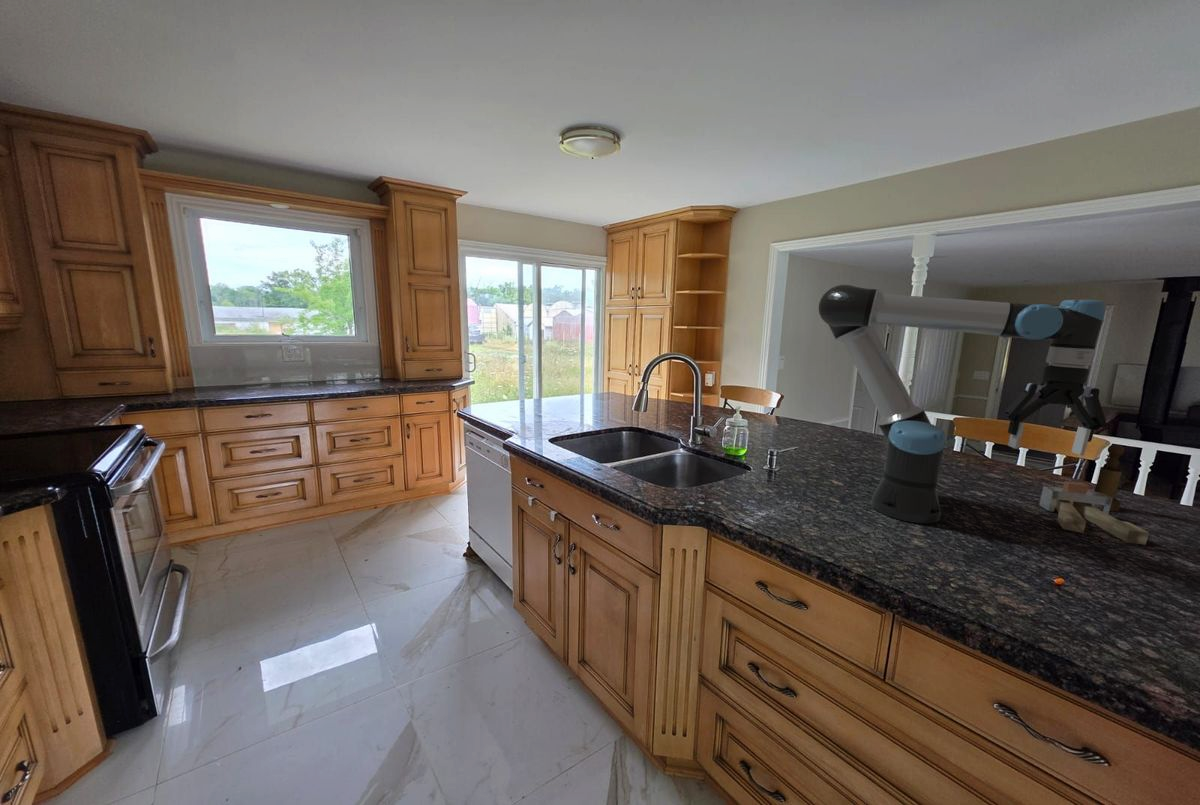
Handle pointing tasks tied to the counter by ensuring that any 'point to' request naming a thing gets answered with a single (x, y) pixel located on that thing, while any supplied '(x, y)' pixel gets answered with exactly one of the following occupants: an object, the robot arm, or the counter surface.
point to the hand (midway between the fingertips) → (1044, 450)
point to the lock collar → (1074, 496)
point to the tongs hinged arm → (1069, 516)
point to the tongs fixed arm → (1112, 524)
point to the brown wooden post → (1110, 476)
